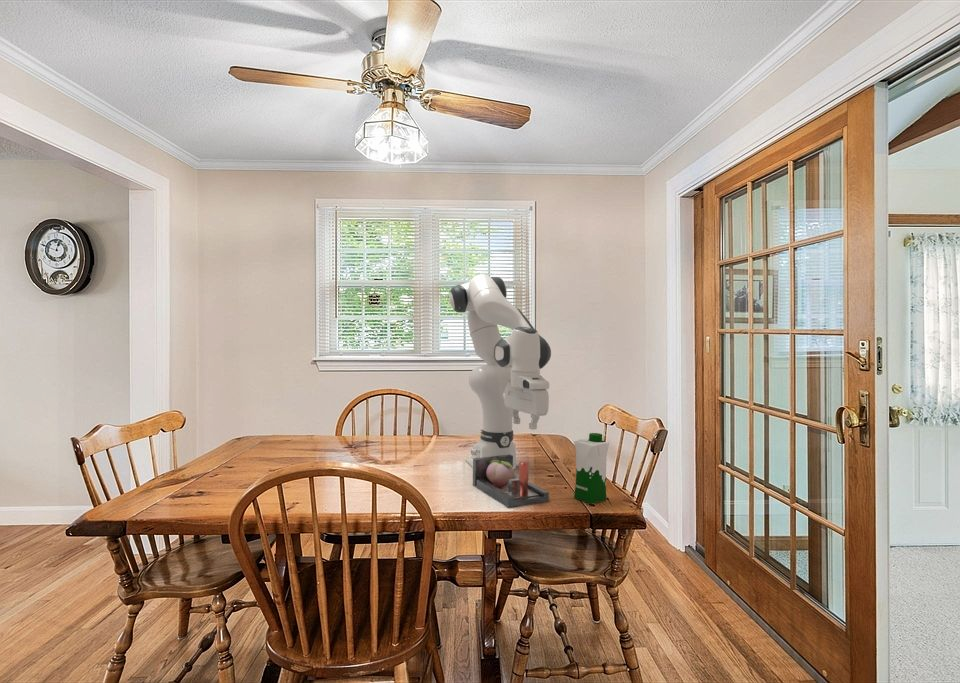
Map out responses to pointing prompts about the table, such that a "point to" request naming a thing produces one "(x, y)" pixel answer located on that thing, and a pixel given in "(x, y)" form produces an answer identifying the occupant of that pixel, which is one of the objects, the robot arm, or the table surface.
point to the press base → (487, 487)
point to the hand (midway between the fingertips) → (524, 426)
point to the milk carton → (591, 469)
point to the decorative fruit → (500, 473)
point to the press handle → (521, 484)
